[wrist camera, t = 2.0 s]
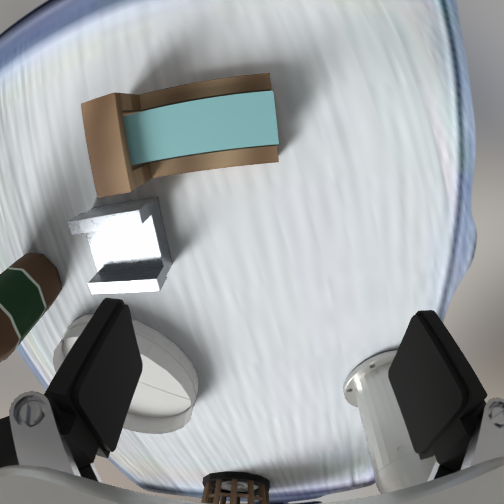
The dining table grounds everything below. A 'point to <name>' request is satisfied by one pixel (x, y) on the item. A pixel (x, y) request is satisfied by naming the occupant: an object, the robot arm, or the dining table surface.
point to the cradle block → (126, 246)
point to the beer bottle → (25, 298)
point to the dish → (150, 380)
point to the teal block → (202, 126)
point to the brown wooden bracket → (132, 176)
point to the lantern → (235, 488)
